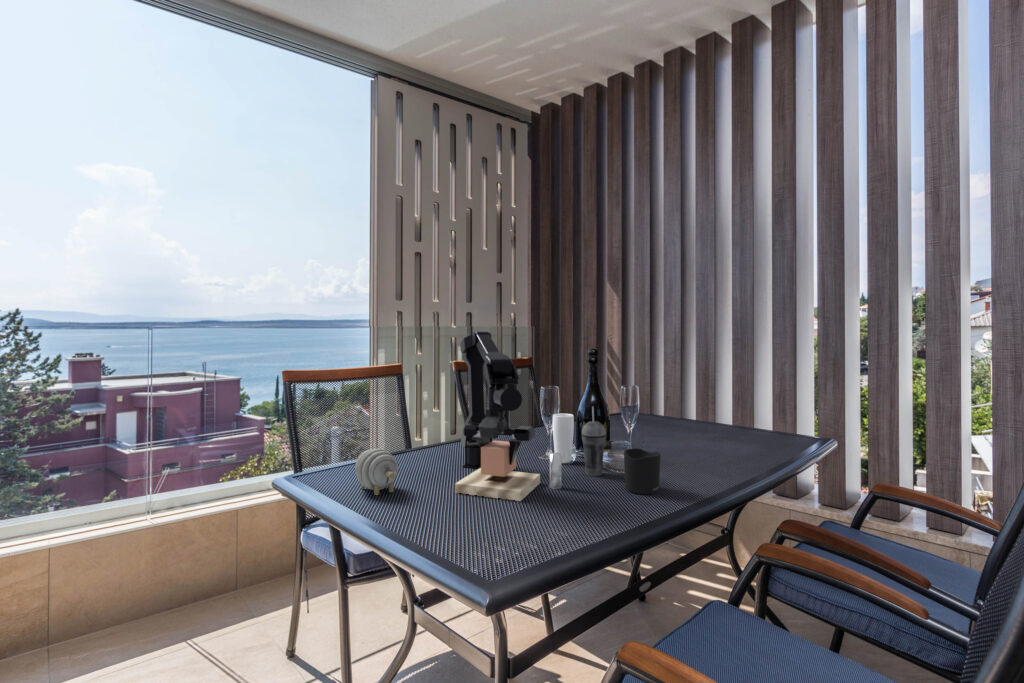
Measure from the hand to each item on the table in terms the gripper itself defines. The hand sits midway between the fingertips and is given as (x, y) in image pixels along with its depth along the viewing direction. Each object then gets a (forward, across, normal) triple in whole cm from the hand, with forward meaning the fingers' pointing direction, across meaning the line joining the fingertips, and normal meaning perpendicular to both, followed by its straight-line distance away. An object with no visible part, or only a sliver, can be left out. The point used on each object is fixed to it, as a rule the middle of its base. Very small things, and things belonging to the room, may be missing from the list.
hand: (498, 463), depth 140 cm
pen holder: (+7, +36, +12) cm, 39 cm away
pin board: (+7, 0, 0) cm, 7 cm away
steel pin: (+7, +14, +6) cm, 17 cm away
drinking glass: (+7, +9, +32) cm, 34 cm away
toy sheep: (+7, -29, -14) cm, 33 cm away
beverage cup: (+7, +21, +22) cm, 31 cm away
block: (+2, 0, 0) cm, 2 cm away
